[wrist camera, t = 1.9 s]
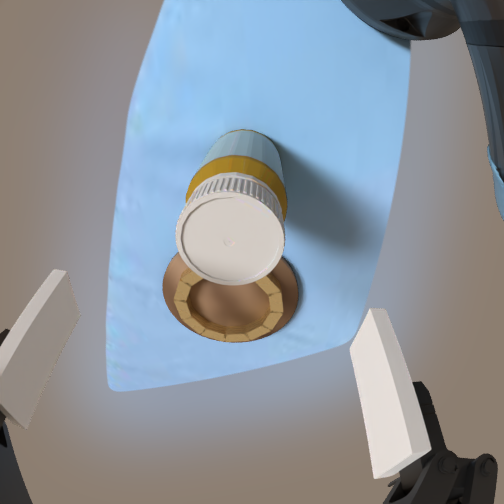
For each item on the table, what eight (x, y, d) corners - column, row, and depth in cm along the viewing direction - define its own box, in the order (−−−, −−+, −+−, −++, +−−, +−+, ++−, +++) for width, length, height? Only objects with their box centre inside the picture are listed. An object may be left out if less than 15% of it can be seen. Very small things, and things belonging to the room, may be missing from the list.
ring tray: (239, 207, 32) (237, 218, 30) (322, 303, 39) (324, 316, 37) (139, 281, 38) (133, 293, 36) (224, 351, 46) (222, 364, 43)
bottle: (286, 187, 31) (301, 281, 18) (219, 200, 32) (191, 298, 19) (271, 121, 27) (279, 170, 15) (200, 137, 28) (149, 200, 16)
